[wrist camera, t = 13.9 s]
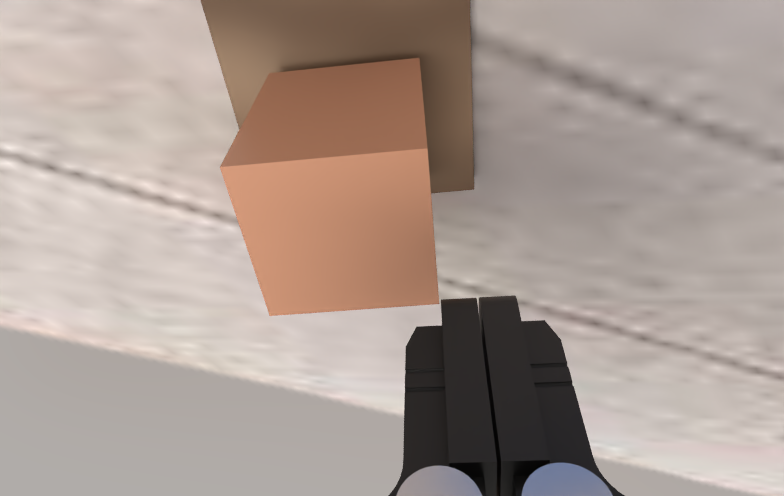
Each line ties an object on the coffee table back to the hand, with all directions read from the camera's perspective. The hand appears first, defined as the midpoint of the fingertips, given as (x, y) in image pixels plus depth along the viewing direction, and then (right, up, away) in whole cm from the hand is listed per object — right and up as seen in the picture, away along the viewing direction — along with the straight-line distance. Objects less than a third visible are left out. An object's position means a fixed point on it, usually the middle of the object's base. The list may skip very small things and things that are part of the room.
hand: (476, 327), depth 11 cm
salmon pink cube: (-3, +6, +9) cm, 11 cm away
